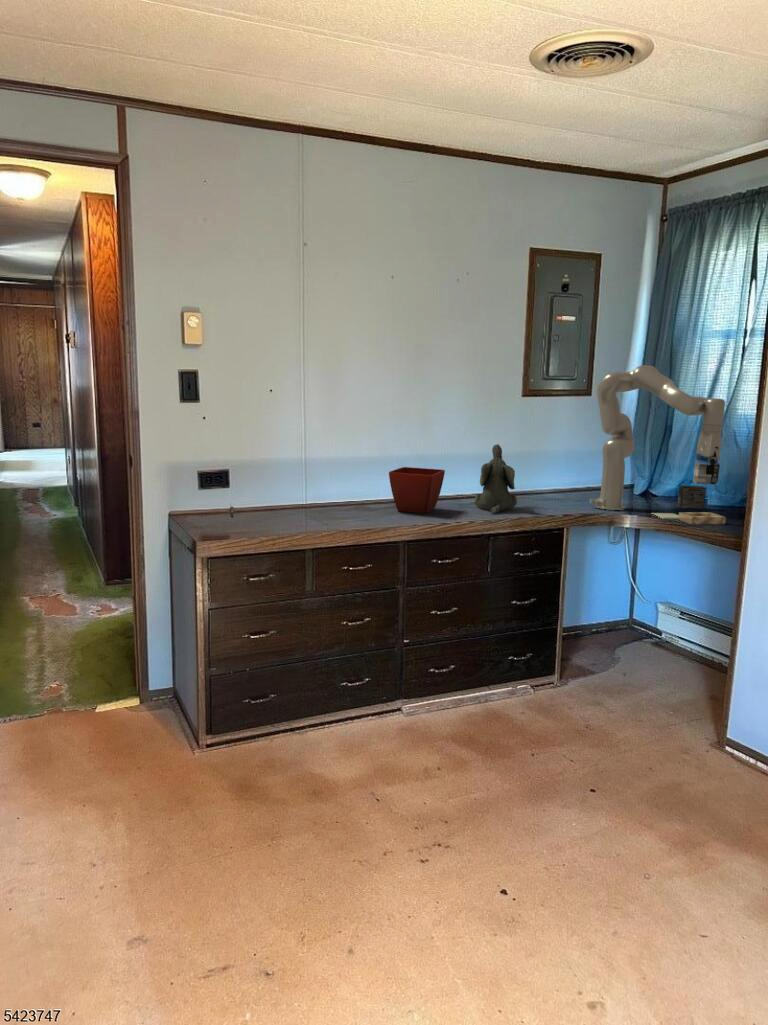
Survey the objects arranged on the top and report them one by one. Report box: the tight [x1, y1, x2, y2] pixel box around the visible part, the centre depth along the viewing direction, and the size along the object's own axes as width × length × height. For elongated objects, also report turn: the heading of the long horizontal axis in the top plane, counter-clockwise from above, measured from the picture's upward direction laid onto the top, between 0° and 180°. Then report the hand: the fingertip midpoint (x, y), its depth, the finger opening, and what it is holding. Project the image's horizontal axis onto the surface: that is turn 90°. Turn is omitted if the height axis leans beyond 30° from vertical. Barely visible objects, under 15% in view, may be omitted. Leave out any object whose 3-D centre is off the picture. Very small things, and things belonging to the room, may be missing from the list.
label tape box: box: [692, 453, 721, 486], centre depth 312 cm, size 9×4×12 cm, turn 92°
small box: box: [676, 484, 707, 511], centre depth 346 cm, size 11×6×10 cm, turn 84°
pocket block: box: [677, 511, 727, 525], centre depth 315 cm, size 15×10×3 cm, turn 99°
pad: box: [650, 512, 679, 520], centre depth 325 cm, size 10×10×1 cm
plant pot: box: [388, 466, 446, 514], centre depth 320 cm, size 19×19×17 cm
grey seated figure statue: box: [474, 443, 518, 514], centre depth 329 cm, size 19×21×27 cm
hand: (706, 473), depth 312 cm, fingers closed on label tape box, 4 cm apart
